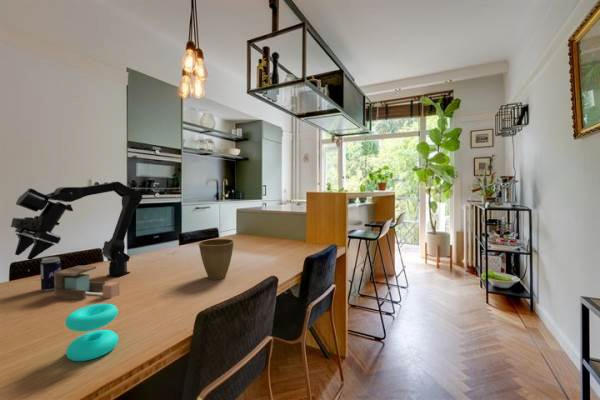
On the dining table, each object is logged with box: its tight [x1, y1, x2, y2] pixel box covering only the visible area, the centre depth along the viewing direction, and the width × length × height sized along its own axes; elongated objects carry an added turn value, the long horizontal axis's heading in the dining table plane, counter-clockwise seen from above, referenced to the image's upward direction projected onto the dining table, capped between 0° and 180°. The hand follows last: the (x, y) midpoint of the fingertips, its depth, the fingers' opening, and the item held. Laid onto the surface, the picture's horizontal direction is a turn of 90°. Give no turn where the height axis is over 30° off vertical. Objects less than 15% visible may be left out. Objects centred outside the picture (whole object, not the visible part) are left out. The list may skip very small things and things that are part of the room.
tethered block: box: [65, 273, 120, 299], centre depth 100 cm, size 5×18×6 cm, turn 81°
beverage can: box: [40, 256, 62, 292], centre depth 105 cm, size 6×6×12 cm
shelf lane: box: [53, 265, 107, 300], centre depth 100 cm, size 9×12×9 cm
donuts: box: [65, 303, 119, 362], centre depth 65 cm, size 10×10×10 cm
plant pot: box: [198, 238, 235, 281], centre depth 121 cm, size 15×15×16 cm
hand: (22, 257), depth 96 cm, fingers open, 9 cm apart
